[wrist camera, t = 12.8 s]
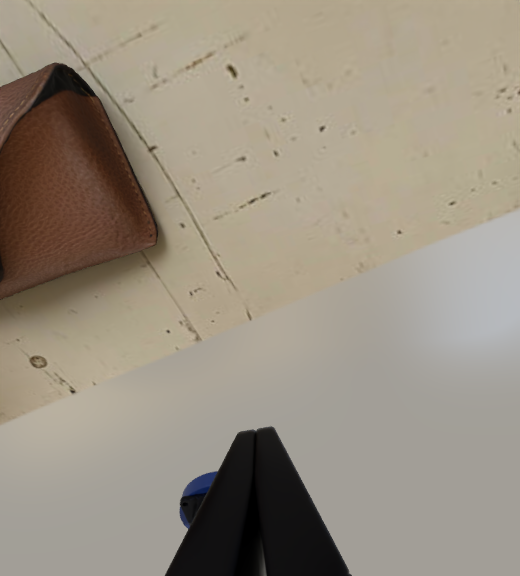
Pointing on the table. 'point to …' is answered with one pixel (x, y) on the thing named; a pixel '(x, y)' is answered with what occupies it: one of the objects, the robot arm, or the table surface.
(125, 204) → the sunglasses case
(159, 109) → the table surface
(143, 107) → the table surface
